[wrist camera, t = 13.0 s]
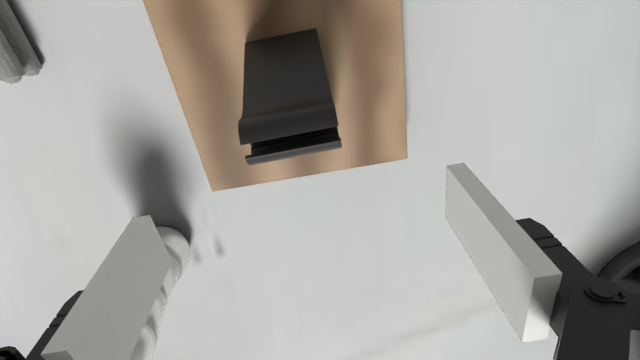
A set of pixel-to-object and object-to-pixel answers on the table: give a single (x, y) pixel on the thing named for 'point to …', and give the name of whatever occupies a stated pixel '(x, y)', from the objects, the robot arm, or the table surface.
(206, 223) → the table surface
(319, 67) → the phone stand
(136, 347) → the plastic bottle
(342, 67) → the wooden board
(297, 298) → the table surface
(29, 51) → the metal rod assembly
